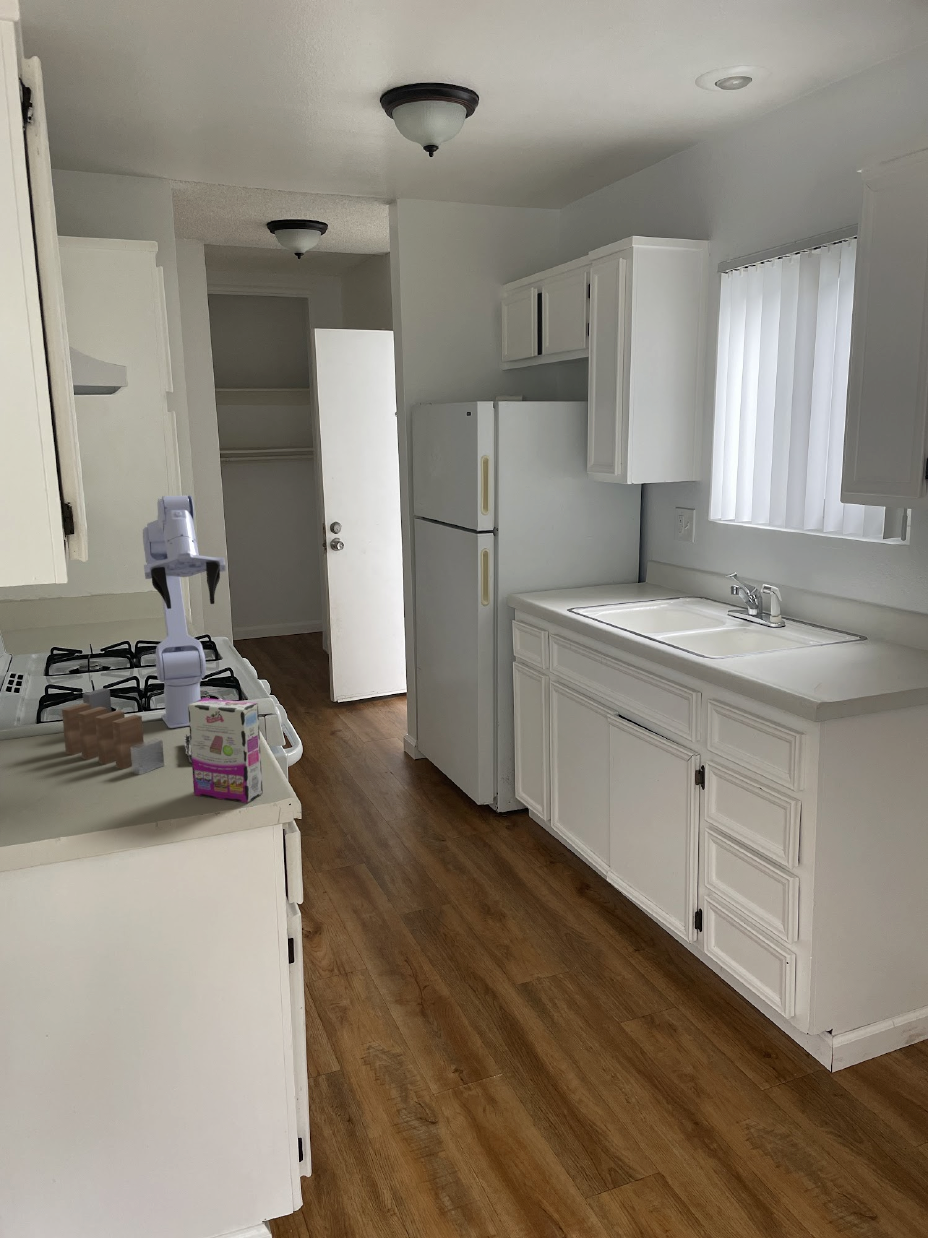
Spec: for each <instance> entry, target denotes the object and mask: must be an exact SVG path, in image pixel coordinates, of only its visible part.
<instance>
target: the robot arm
mask: <svg viewBox="0 0 928 1238" xmlns="http://www.w3.org/2000/svg"><path fill="white" fill-rule="evenodd" d="M156 505H157V506H156V507H157V517H156V520H152V521H150V522H147V524H146V526H144V528H143V529H142V543H143V544H142V545H143V551H144V559H145V563H146V564H143V570H144V577H145V580H151V583H152V586H153V588H154V589H155V590H156V591H157V592H158V593H159V595H160V596H161V600H162V609H163V616H164V624H165V632H166V638H164V639H163V640H162V641H160V643H158V644H157V646H156V649H155V667H156V669H155V670H156V675H157V676H156V677H157V680H158V681H159V682H160V683H163V684H164V689H163V694H164V698H163V699H164V711H165V714H161V715H160V717H161V719H162V720H163V722H164V723H165V725H166V726H167V728H168V729H174V728H183V727H187V726H189V711H188V705H189V704H191V703H194V702H196V701H198V700H201V699H202V698H201V686H200V685H201V682H202V681H201V680H202V679H204V678H205V676H206V675H207V664H206V663H207V662H206V655H205V652H204V650H203V649H204V648H203V644H202V643H201V641H200V640H198V639H197V638H194V637H193V636H191V635H189V633H188V626H187V619H186V611H185V604H184V596H183V589H182V581H181V578H188V577H191V576H196V575H198V574H203V573H205V572H206V583H207V587H208V593H209V603H210V605H214V604H215V595H216V589H217V587H218V584H219V581H220V580H221V572H226V561H225V556H223V557H222V556H221V557H214V556H206V555H201V554H199V549H198V542H197V536H196V532H195V524H194V520H195V506H194V505H195V504H194V500H193V498H192V495H189V494H188V495H187V494H186V495H164V496H163V495H162V497H161V499H160V498H158V499H157V503H156ZM189 727H190V726H189Z"/></svg>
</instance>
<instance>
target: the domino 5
mask: <svg viewBox="0 0 928 1238" xmlns="http://www.w3.org/2000/svg"><path fill="white" fill-rule="evenodd" d="M112 724H113V736H114V748H115V760H116V761H115V768H117V769H120V770H126V769H129V768H132V760H131V747H132V746H135V745H138V744H140V743H143V742H145V741H144V740H145V739H144V730H143V716H142V715H138V714H132V715H129V716H125V718H122V719H118V720H115V721H112Z"/></svg>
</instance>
